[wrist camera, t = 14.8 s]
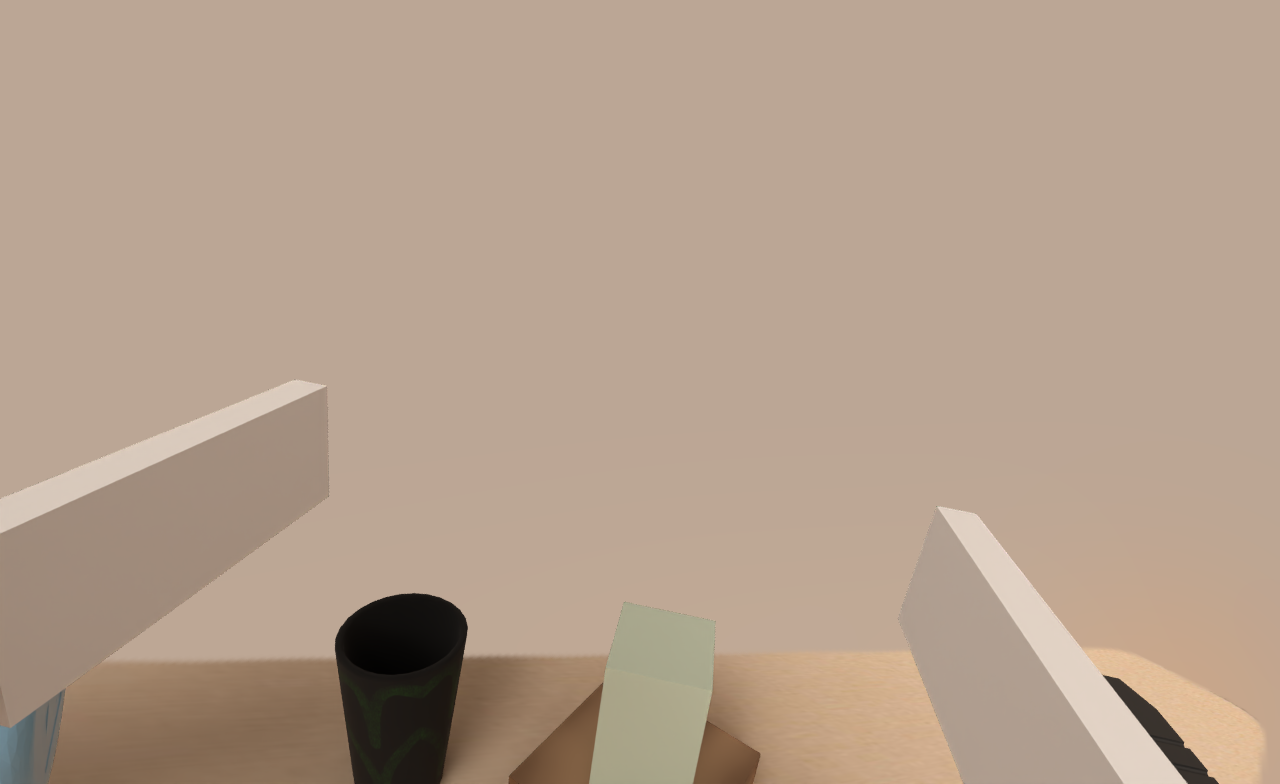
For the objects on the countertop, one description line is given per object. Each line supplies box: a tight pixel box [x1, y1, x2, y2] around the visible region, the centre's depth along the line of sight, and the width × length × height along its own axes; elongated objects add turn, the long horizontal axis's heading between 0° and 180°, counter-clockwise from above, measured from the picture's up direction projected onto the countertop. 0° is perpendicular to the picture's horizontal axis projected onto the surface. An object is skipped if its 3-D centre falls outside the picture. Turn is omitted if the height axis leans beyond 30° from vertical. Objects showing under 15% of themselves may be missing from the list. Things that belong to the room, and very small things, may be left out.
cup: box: [335, 593, 468, 784], centre depth 40 cm, size 8×8×12 cm
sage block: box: [589, 602, 715, 784], centre depth 38 cm, size 6×6×10 cm
